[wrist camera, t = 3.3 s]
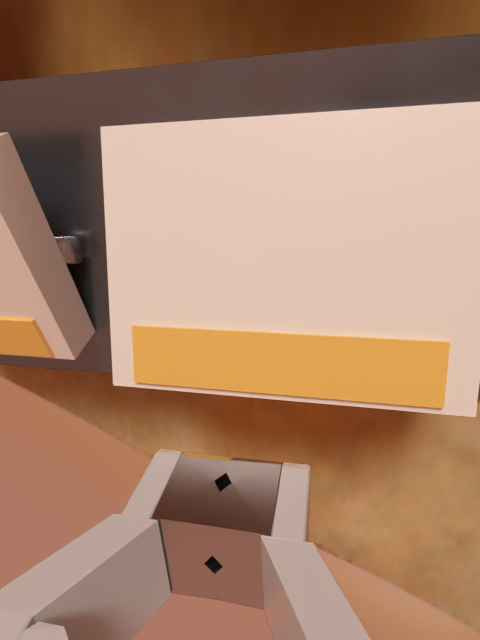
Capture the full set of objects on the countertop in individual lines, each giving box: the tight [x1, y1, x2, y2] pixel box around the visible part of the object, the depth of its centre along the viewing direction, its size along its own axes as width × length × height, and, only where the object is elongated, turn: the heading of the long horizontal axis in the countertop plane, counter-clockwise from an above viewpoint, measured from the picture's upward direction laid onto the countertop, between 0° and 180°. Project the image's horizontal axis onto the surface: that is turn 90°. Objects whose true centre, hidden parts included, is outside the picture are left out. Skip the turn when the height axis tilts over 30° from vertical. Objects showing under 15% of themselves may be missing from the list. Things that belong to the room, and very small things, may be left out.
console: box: [0, 34, 480, 403], centre depth 16 cm, size 24×10×7 cm, turn 93°
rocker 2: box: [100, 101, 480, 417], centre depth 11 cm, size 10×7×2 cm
